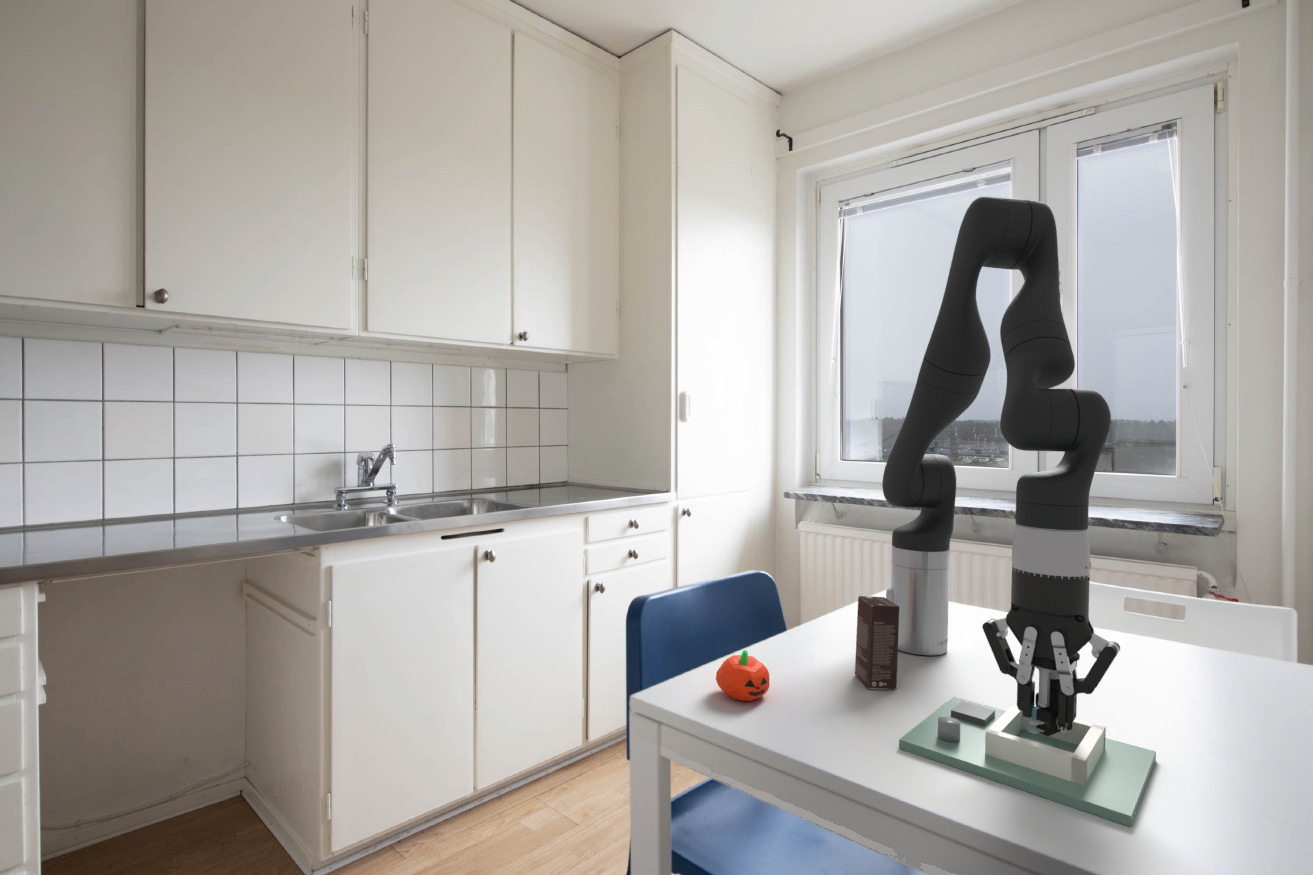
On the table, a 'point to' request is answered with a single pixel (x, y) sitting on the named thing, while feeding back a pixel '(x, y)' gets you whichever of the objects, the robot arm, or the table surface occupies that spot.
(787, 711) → the table surface
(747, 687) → the pumpkin
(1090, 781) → the board
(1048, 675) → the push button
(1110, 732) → the table surface
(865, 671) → the box
